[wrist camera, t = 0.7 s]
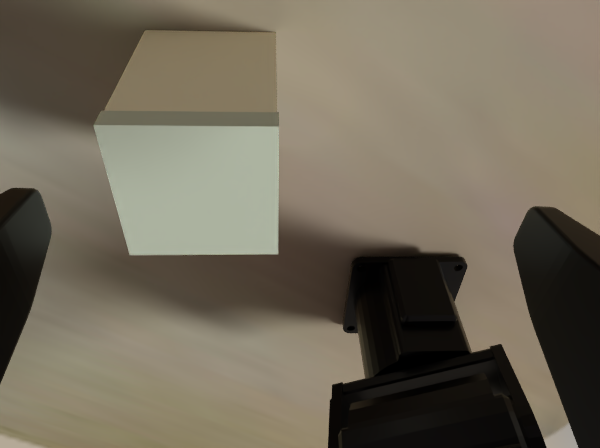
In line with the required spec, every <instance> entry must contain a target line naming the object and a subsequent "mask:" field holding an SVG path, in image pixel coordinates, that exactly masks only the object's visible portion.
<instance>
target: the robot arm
mask: <svg viewBox="0 0 600 448" xmlns="http://www.w3.org/2000/svg"><path fill="white" fill-rule="evenodd" d="M51 232H52V231H51V223H50V220H49V217H48V214H47V211H46V208H45V205H44V202H43V199H42V196H41V194H40V193H39V191H38V190H36V189H33V188H11V189H9V190H7V191H5V192H3V193H2V194H0V383H1V381H2V379H3V376H4V374H5V371H6V369H7V366H8V364H9V362H10V359H11V357H12V354H13V352H14V350H15V347H16V345H17V342H18V340H19V337H20V335H21V333H22V330H23V328H24V325H25V323H26V320H27V318H28V315H29V313H30V310H31V307H32V304H33V300H34V297H35V293H36V290H37V286H38V282H39V279H40V275H41V271H42V268H43V264H44V260H45V257H46V253H47V249H48V246H49V242H50V238H51ZM513 247H514V254H515V258H516V262H517V266H518V270H519V274H520V278H521V282H522V286H523V290H524V294H525V299H526V303H527V307H528V310H529V314H530V317H531V320H532V323H533V326H534V329H535V332H536V335H537V337H538V340H539V343H540V345H541V348H542V351H543V353H544V356H545V359H546V362H547V364H548V367H549V370H550V372H551V375H552V378H553V380H554V383H555V386H556V388H557V391H558V394H559V396H560V399H561V402H562V405H563V407H564V410H565V413H566V415H567V418H568V421H569V423H570V426H571V429H572V431H573V434H574V437H575V439H576V442H577V445H578V447H579V448H600V236H599V235H598V234H596V233H595V232H593V231H591V230H590V229H588V228H587V227H585V226H583V225H582V224H580V223H579V222H577V221H575V220H574V219H572V218H571V217H569V216H567V215H566V214H564V213H563V212H561V211H560V210H558V209H556V208H554V207H539V206H535V207H532V208H530V209H529V210H528V212H527V213H526V215H525V218H524V220H523V222H522V224H521V226H520V228H519V230H518V232H517V234H516V236H515V239H514V245H513ZM457 265H458V266H457ZM359 266H361V267H359ZM466 269H467V264H466V261H465V259H464V258H462V257H360V258H356V259H354V260H353V261H352V263H351V270H350V276H349V283H348V290H347V297H346V303H345V310H344V317H343V330H344V331H345V332H347V333H358V335H359V341H360V348H361V354H362V361H363V367H364V374H365V379H361V380H357V381H353V382H349V383H345V384H343V382H341V383H337V384H333V385H332V399H330V413H329V437H328V448H546V445H545V442H544V439H543V437H542V434H541V431H540V429H539V426H538V424H537V421H536V419H535V416H534V414H533V412H532V409H531V407H530V405H529V403H528V401H527V398H526V396H525V394H524V392H523V390H522V388H521V386H520V383H519V381H518V379H517V377H516V375H515V373H514V371H513V368H512V366H511V364H510V362H509V360H508V358H507V356H506V353H505V351H504V349H503V347H502V345H501V344H498V345H494V346H490V349H486V350H482V351H477V352H473V353H472V351H471V349H470V346H469V343H468V340H467V337H466V334H465V331H464V328H463V326H462V323H461V320H460V317H459V314H458V311H457V308H456V306H455V303H454V301H455V298H456V296H457V293H458V291H459V288H460V285H461V283H462V280H463V277H464V275H465V272H466Z"/></svg>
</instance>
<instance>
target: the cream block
mask: <svg viewBox="0 0 600 448" xmlns="http://www.w3.org/2000/svg"><path fill="white" fill-rule="evenodd" d="M93 126H94V129H95V133H96V137H97V140H98V144H99V147H100V151H101V154H102V158H103V161H104V165H105V169H106V172H107V176H108V179H109V183H110V186H111V190H112V194H113V197H114V201H115V204H116V208H117V211H118V215H119V218H120V222H121V226H122V229H123V233H124V236H125V240H126V243H127V247H128V251H129V254H130V255H250V254H278V198H279V112H277V82H276V32H224V31H169V30H145V31H144V33H143V35H142V37H141V39H140V41H139V43H138V45H137V47H136V49H135V51H134V53H133V55H132V56H131V58H130V60H129V62H128V64H127V66H126V68H125V70H124V72H123V74H122V76H121V78H120V80H119V82H118V84H117V86H116V88H115V90H114V92H113V94H112V96H111V98H110V100H109V101H108V103H107V105H106V107H105V109H104V111H100V113H99V115H98V117H97V119H96V121H95V123H94V125H93Z"/></svg>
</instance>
